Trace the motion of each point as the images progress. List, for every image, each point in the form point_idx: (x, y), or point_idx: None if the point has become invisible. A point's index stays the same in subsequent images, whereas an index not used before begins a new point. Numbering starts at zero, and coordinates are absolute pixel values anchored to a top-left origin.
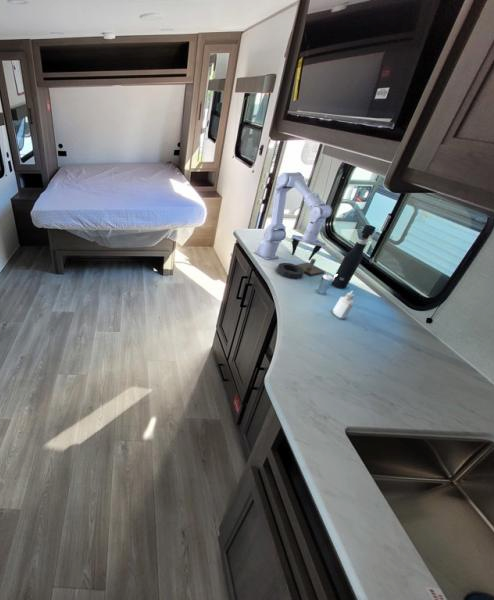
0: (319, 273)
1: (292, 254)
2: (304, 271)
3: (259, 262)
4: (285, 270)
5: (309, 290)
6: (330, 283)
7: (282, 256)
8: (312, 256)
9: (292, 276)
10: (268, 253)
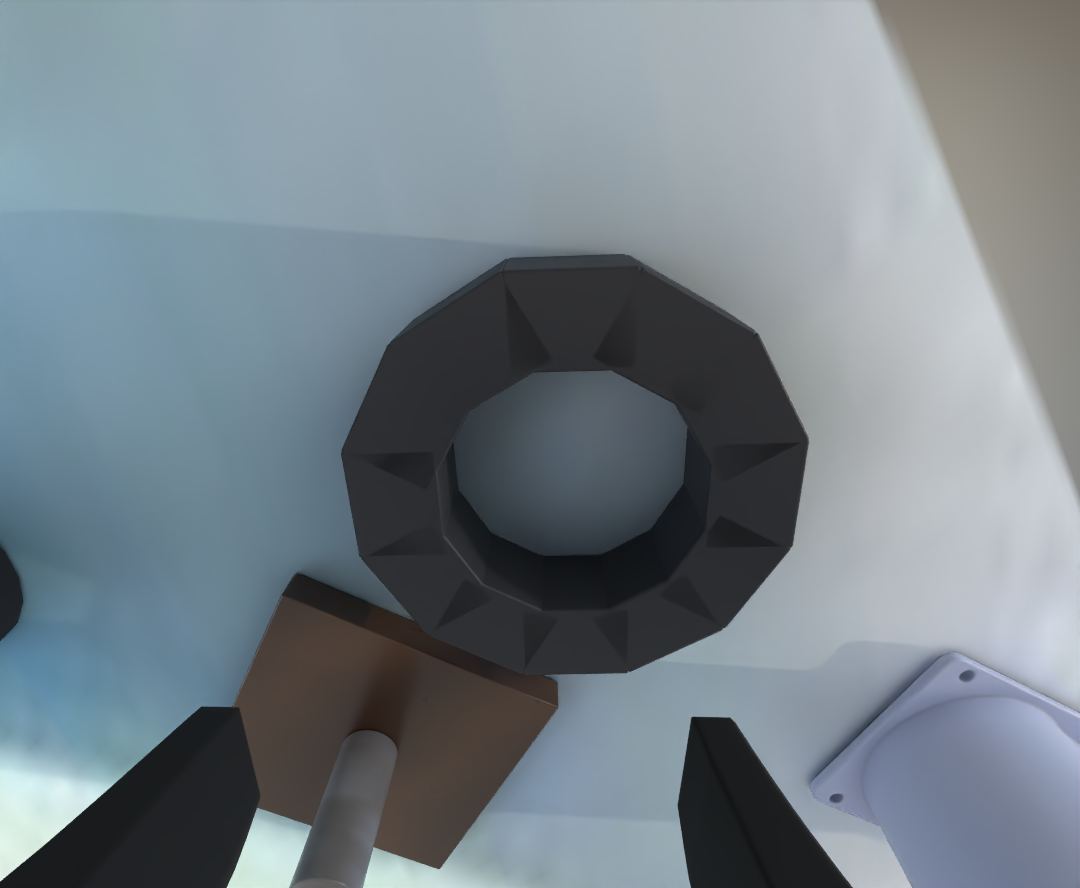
0: None
1: (721, 729)
2: (394, 629)
3: (1065, 491)
4: (644, 326)
5: (70, 24)
6: None
7: None
8: (49, 844)
9: (475, 281)
10: (1013, 759)
